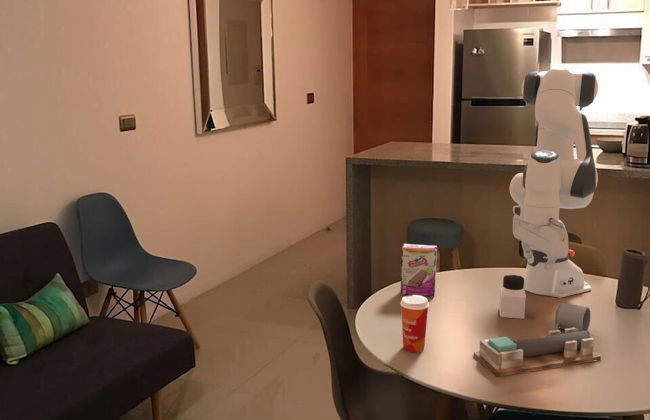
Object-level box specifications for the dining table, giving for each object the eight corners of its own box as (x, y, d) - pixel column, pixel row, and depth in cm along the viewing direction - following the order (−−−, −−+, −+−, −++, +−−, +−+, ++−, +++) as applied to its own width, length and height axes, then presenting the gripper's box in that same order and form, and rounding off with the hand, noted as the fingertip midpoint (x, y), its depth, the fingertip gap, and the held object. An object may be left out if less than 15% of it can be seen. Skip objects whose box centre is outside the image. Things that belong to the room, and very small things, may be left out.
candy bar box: (400, 295, 219) (401, 247, 215) (401, 290, 224) (402, 243, 220) (434, 298, 217) (436, 249, 213) (435, 292, 222) (437, 244, 218)
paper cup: (394, 345, 183) (394, 296, 180) (418, 340, 186) (419, 292, 183) (409, 356, 176) (410, 306, 173) (433, 351, 179) (435, 302, 176)
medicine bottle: (524, 319, 200) (527, 281, 197) (500, 317, 201) (502, 279, 198) (522, 310, 206) (525, 273, 204) (498, 308, 208) (501, 271, 205)
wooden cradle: (571, 341, 185) (572, 324, 183) (600, 359, 173) (602, 341, 172) (473, 355, 176) (474, 338, 175) (497, 376, 165) (498, 358, 164)
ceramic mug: (561, 322, 197) (563, 297, 195) (590, 328, 192) (592, 303, 191) (548, 335, 189) (550, 309, 187) (578, 342, 184) (580, 316, 182)
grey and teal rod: (578, 343, 181) (580, 325, 180) (590, 350, 176) (592, 333, 175) (487, 356, 173) (488, 339, 172) (498, 365, 169) (499, 347, 168)
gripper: (576, 223, 167) (572, 275, 170) (529, 203, 185) (526, 250, 189) (554, 226, 165) (551, 278, 169) (509, 205, 184) (507, 253, 188)
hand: (537, 263), depth 179 cm, fingers open, 8 cm apart
